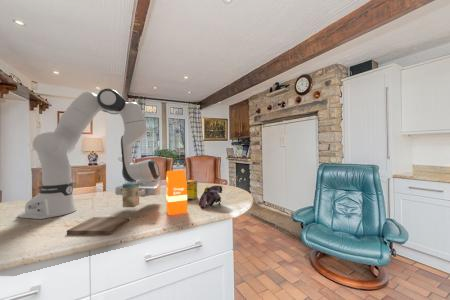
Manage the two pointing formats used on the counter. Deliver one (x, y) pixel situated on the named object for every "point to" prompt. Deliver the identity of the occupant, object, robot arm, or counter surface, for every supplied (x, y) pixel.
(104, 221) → the chopping board
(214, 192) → the decorative flower
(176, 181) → the orange juice
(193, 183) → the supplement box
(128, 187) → the beech block
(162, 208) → the counter surface
